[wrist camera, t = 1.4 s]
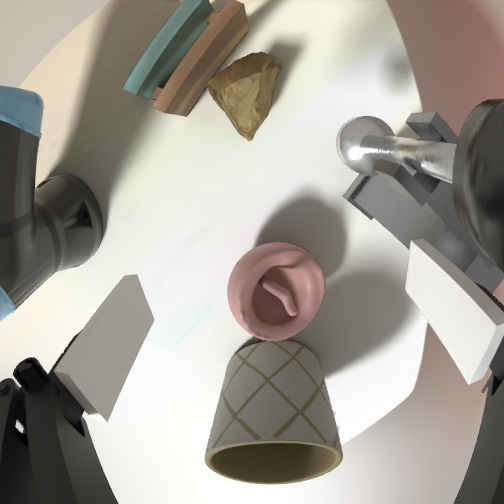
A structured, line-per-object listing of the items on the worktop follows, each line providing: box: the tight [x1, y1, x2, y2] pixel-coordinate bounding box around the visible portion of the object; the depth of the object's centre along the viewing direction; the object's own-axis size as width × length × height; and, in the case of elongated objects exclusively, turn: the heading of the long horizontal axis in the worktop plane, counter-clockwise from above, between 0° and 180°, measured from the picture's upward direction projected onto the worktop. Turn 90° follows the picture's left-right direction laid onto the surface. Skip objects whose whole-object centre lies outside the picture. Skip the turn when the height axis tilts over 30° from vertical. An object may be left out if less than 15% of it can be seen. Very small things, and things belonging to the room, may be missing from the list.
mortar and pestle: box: [227, 242, 325, 341], centre depth 34 cm, size 12×12×12 cm
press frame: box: [343, 112, 504, 294], centre depth 21 cm, size 12×9×24 cm
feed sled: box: [123, 0, 249, 117], centre depth 24 cm, size 7×14×8 cm, turn 147°
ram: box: [336, 99, 504, 273], centre depth 11 cm, size 5×5×16 cm
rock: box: [206, 52, 283, 141], centre depth 27 cm, size 11×9×10 cm
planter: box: [205, 339, 343, 484], centre depth 38 cm, size 19×19×20 cm
